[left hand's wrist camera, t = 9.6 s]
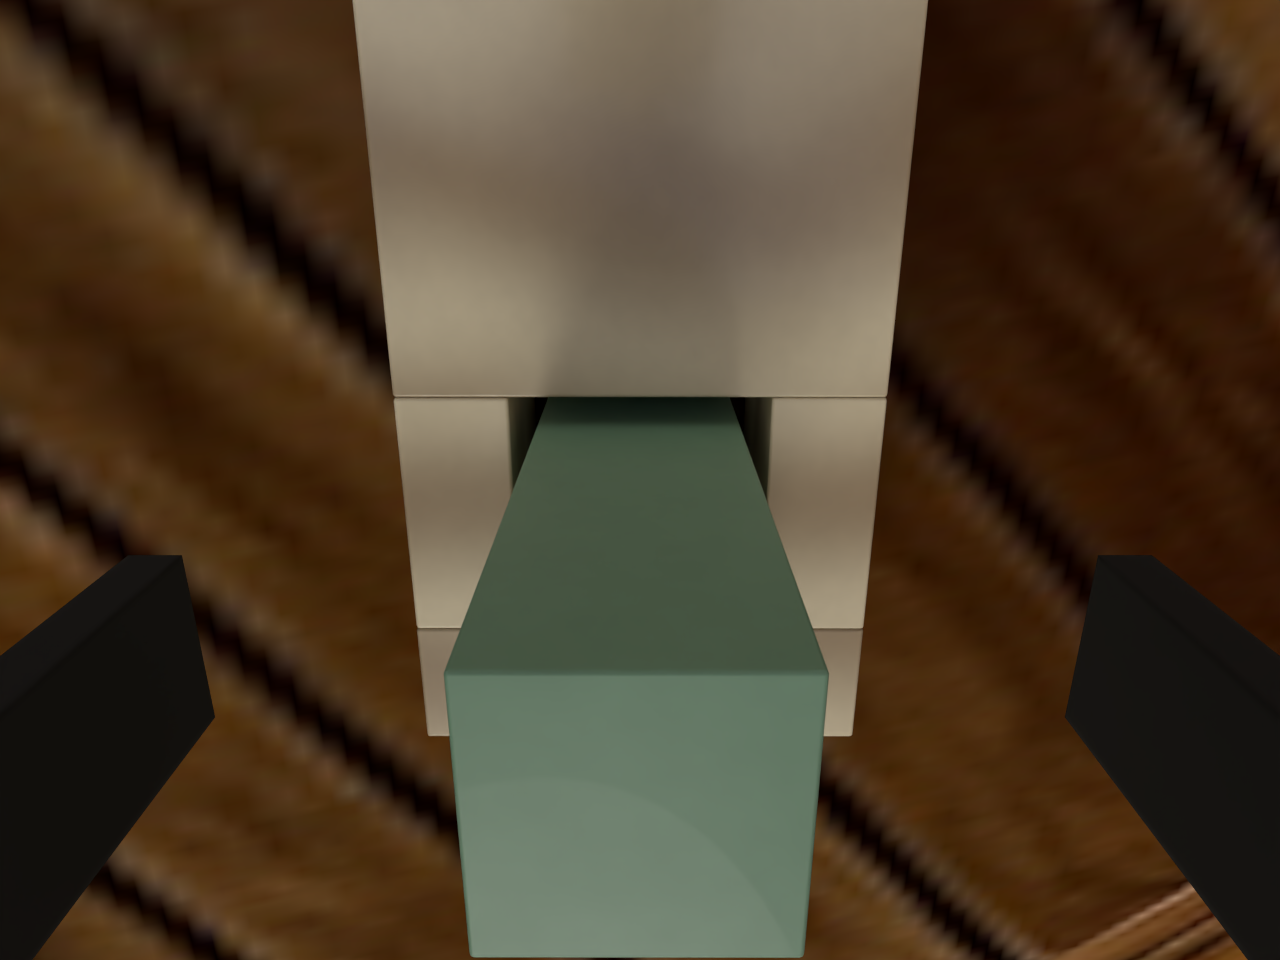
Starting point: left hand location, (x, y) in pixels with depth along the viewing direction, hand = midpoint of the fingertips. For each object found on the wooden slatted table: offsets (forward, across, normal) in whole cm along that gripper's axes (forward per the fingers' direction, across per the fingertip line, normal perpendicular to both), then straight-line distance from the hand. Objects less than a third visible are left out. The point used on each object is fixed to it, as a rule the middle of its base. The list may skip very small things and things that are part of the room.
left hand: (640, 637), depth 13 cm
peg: (+8, 0, 0) cm, 8 cm away
